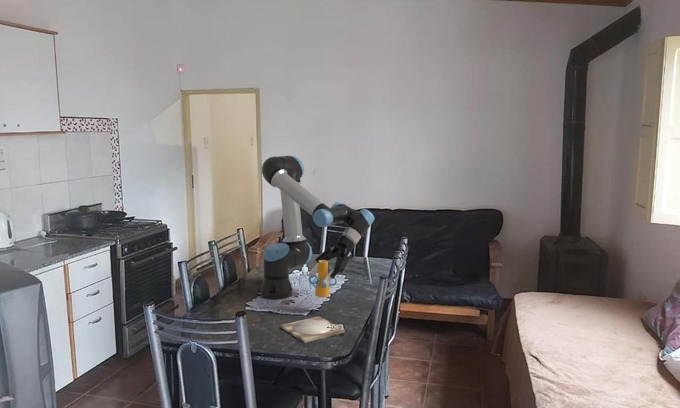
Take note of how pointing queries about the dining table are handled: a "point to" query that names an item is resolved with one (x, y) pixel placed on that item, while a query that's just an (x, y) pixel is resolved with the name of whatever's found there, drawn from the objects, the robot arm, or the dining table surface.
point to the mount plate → (311, 329)
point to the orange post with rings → (321, 287)
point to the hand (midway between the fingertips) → (317, 279)
